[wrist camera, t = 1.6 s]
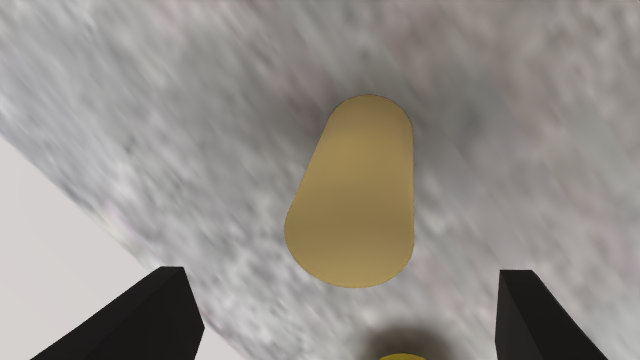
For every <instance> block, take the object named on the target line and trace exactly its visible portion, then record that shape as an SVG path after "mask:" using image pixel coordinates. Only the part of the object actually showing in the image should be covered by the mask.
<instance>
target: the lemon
mask: <svg viewBox="0 0 640 360" xmlns="http://www.w3.org/2000/svg"><path fill="white" fill-rule="evenodd" d="M379 360H426V359H424V358H422V357H420V356H416V355H413V354H405V353H400V354H392V355H388V356H385V357H382V358H381V359H379Z"/></svg>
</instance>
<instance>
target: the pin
mask: <svg viewBox="0 0 640 360" xmlns="http://www.w3.org/2000/svg"><path fill="white" fill-rule="evenodd" d="M284 235H285V240H286V244H287V247H288V249H289V251H290V253H291V255H292V256H293V258H294V259H295V260H296V262H297V263H298V264H299V265H300V266H301V267H302V268H303V269H304V270H305V271H307V272H308V273H309V274H311V275H312V276H314V277H315V278H317V279H319V280H321V281H323V282H326V283H329V284H331V285H335V286H339V287H345V288H365V287H371V286H375V285H379V284H381V283H384V282H386V281H388V280H390V279H392V278H393V277H394V276H396V275H397V274H398V273H399V272H400V271H402V270H403V268H404V267H405V266H406V265H407V263H408V261H409V259H410V257H411V255H412V252H413V247H414V177H413V130H412V126H411V123H410V120H409V118H408V117H407V115H406V113H405V112H404V111H403V110H402V109H401V108H400V107H399V106H398V105H397V104H395V103H394V102H392V101H391V100H389V99H386V98H384V97H380V96H376V95H360V96H356V97H352V98H350V99H348V100H346V101H344V102H342V103H341V104H340V105H339V106H337V107H336V109H335V110H334V111H333V112H332V114H331V115H330V117H329V119H328V121H327V123H326V126H325V128H324V130H323V133H322V135H321V137H320V139H319V142H318V144H317V146H316V149H315V151H314V153H313V156H312V158H311V160H310V162H309V165H308V167H307V169H306V172H305V174H304V176H303V179H302V181H301V183H300V185H299V188H298V190H297V192H296V195H295V197H294V199H293V202H292V204H291V206H290V208H289V211H288V213H287V216H286V219H285V224H284Z"/></svg>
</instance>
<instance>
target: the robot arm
mask: <svg viewBox="0 0 640 360" xmlns="http://www.w3.org/2000/svg"><path fill="white" fill-rule="evenodd" d="M204 329H205V327H204V324H203V321H202V318H201V316H200V313H199V310H198V307H197V304H196V301H195V299H194V296H193V293H192V290H191V287H190V284H189V281H188V279H187V276H186V273H185V270H184V267H165V266H161V267H159V268H158V269H156V270H155V271H153V272H152V273H150V274H149V275H147V276H146V277H144V278H143V279H142V280H140V281H139V282H137V283H136V284H135V285H133V286H132V287H131V288H129V289H128V290H127V291H125V292H124V293H122V294H121V295H120V296H119V297H117V298H116V299H114V300H113V301H112V302H110V303H109V304H108V305H106V306H105V307H104V308H102V309H101V310H100V311H98V312H97V313H95V314H94V315H93V316H91V317H90V318H89V319H88V320H86V321H85V322H83V323H82V324H81V325H79V326H78V327H76V328H75V329H74V330H72V331H71V332H69V333H68V334H66V335H65V336H63V337H62V338H61V339H59V340H58V341H56V342H55V343H53V344H52V345H51V346H49V347H48V348H46V349H45V350H43V351H42V352H40V353H39V354H38V355H36V356H35V357H34V358H32V359H30V360H194V359H195V356H196V353H197V351H198V347H199V345H200V341H201V338H202V335H203V332H204ZM495 345H496V351H497V358H498V360H608V359H607V358H606V357H605V356H604V354H603V353H602V352H601V351H600V350H599V349H598V348H597V347H596V346H595V344H594V343H593V342H592V341H591V340H590V339H589V338H588V337H587V336H586V334H585V333H584V332H583V331H582V330H581V329H580V328H579V326H578V325H577V324H576V323H575V322H574V321H573V319H572V318H571V317H570V316H569V315H568V313H567V312H566V311H565V310H564V309H563V307H562V306H561V305H560V304H559V302H558V301H557V300H556V299H555V297H554V296H553V295H552V294H551V292H550V291H549V290H548V289H547V287H546V286H545V285H544V283H543V282H542V281H541V280H540V278H539V277H538V276H537V274H535V273H534V272H533V271H532V270H500V275H499V289H498V303H497V317H496V331H495Z"/></svg>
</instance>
